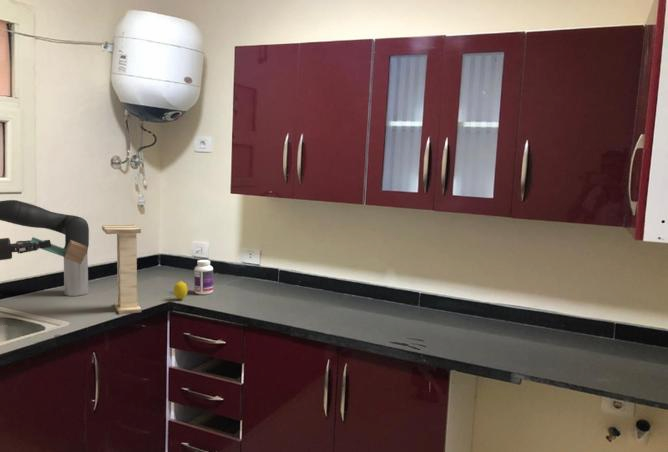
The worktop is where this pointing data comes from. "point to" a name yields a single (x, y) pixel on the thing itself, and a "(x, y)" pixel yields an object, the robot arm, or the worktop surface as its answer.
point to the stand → (126, 266)
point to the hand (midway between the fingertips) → (50, 243)
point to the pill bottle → (203, 277)
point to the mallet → (67, 250)
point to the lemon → (180, 290)
